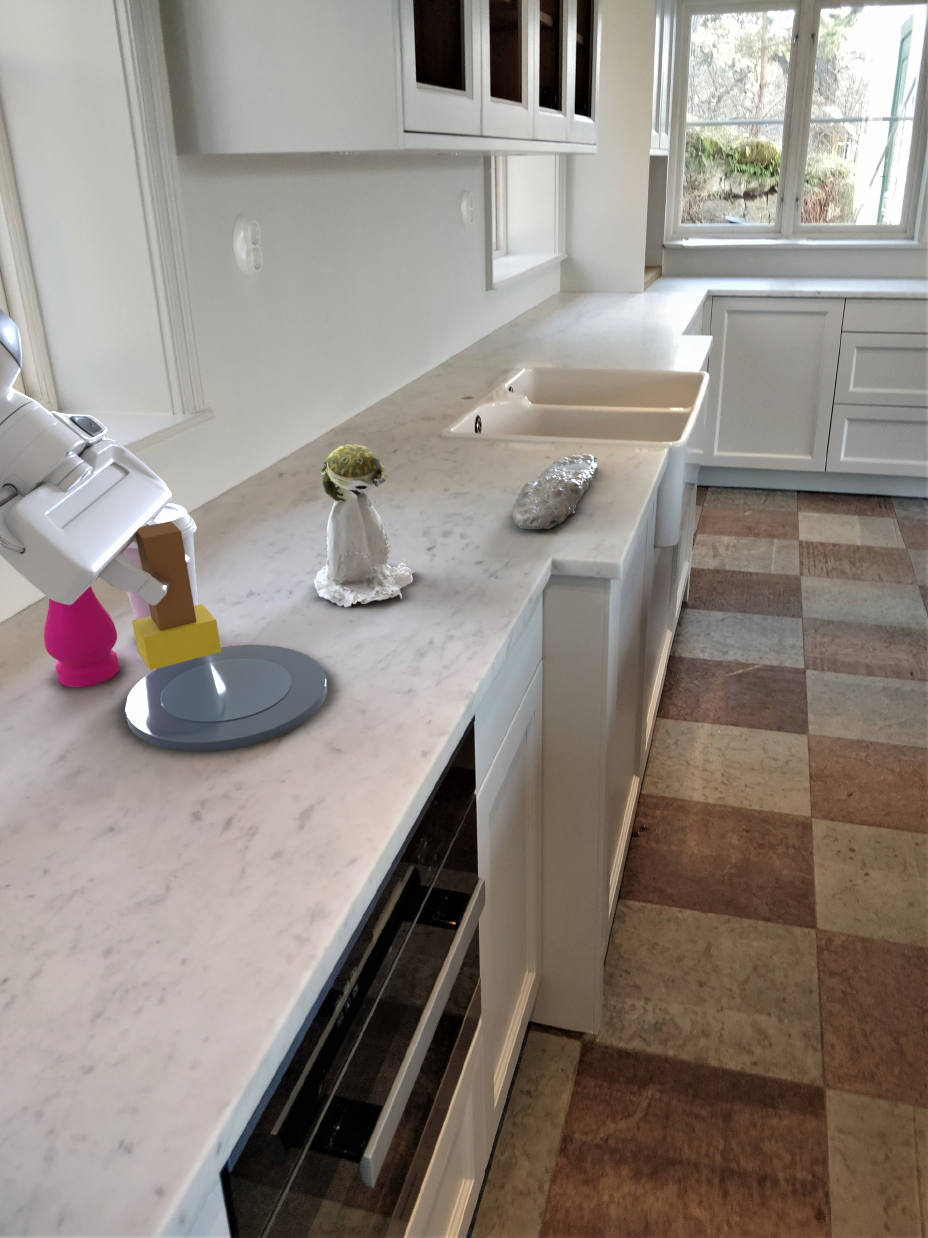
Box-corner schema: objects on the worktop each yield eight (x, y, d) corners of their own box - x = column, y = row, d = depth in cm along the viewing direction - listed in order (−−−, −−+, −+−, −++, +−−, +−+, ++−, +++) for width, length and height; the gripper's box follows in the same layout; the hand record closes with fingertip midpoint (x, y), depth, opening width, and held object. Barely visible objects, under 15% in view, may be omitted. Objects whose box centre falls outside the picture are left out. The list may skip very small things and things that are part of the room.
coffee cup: (191, 612, 118) (171, 495, 111) (227, 637, 111) (208, 514, 104) (115, 636, 112) (90, 514, 106) (148, 664, 105) (123, 536, 99)
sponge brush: (149, 671, 78) (124, 544, 73) (138, 652, 81) (113, 530, 77) (221, 651, 81) (201, 528, 76) (207, 634, 84) (187, 515, 79)
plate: (155, 777, 85) (153, 765, 85) (107, 686, 101) (104, 675, 101) (359, 712, 94) (358, 701, 94) (285, 638, 110) (284, 628, 110)
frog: (300, 605, 118) (282, 460, 110) (334, 565, 130) (320, 432, 122) (393, 610, 116) (382, 462, 108) (419, 569, 127) (411, 433, 119)
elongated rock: (610, 476, 166) (554, 476, 169) (610, 446, 164) (553, 446, 168) (566, 534, 136) (499, 533, 139) (565, 498, 134) (497, 497, 137)
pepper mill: (94, 653, 108) (55, 482, 100) (138, 667, 105) (102, 491, 96) (39, 681, 103) (-7, 502, 94) (84, 696, 99) (41, 512, 91)
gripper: (-13, 480, 64) (155, 610, 68) (100, 410, 83) (228, 515, 86) (-61, 544, 66) (106, 667, 70) (61, 462, 85) (187, 563, 89)
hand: (174, 582), depth 78 cm, fingers closed on sponge brush, 4 cm apart
